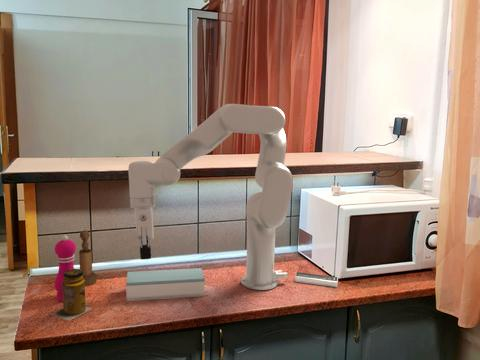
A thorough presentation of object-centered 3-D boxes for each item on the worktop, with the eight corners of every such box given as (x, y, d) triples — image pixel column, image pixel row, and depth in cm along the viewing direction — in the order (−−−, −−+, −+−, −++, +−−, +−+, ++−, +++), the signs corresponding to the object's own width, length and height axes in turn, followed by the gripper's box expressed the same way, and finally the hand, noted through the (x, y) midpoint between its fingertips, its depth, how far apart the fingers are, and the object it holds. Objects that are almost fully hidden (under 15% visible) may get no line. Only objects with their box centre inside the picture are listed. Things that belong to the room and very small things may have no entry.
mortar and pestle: (96, 285, 140) (94, 233, 137) (75, 287, 138) (73, 234, 135) (96, 277, 146) (95, 227, 143) (77, 279, 144) (74, 228, 141)
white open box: (201, 284, 143) (201, 270, 142) (204, 296, 134) (204, 281, 133) (128, 288, 138) (127, 274, 137) (126, 301, 129) (126, 285, 128)
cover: (201, 270, 142) (201, 268, 142) (204, 280, 133) (204, 278, 133) (127, 274, 137) (127, 271, 137) (126, 285, 128) (126, 282, 128)
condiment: (92, 308, 124) (91, 270, 122) (69, 321, 116) (67, 280, 114) (74, 303, 127) (72, 265, 125) (50, 315, 120) (48, 275, 118)
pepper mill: (71, 303, 127) (68, 239, 123) (49, 301, 128) (46, 237, 125) (84, 293, 134) (82, 232, 130) (64, 291, 135) (61, 231, 132)
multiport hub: (296, 277, 152) (296, 271, 151) (337, 283, 148) (338, 277, 148) (294, 282, 148) (295, 276, 147) (336, 288, 144) (337, 282, 143)
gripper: (155, 206, 123) (158, 266, 126) (155, 195, 137) (157, 249, 141) (129, 208, 122) (132, 268, 125) (131, 197, 136) (134, 251, 139)
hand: (145, 258), depth 133 cm, fingers closed
